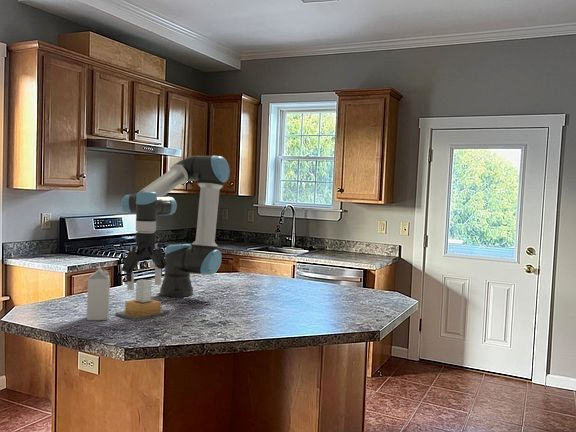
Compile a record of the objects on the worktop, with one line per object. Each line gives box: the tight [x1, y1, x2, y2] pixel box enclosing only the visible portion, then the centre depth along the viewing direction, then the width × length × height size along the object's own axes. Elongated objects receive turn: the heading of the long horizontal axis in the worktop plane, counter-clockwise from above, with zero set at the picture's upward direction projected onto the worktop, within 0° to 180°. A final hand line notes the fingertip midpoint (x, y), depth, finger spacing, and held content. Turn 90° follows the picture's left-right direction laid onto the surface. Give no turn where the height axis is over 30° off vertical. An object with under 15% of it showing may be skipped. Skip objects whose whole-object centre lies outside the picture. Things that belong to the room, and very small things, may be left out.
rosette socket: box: [115, 299, 170, 322], centre depth 200 cm, size 16×12×5 cm
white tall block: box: [135, 279, 153, 304], centre depth 200 cm, size 4×4×12 cm
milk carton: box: [86, 265, 111, 321], centre depth 191 cm, size 7×7×19 cm
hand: (144, 287), depth 200 cm, fingers open, 13 cm apart
